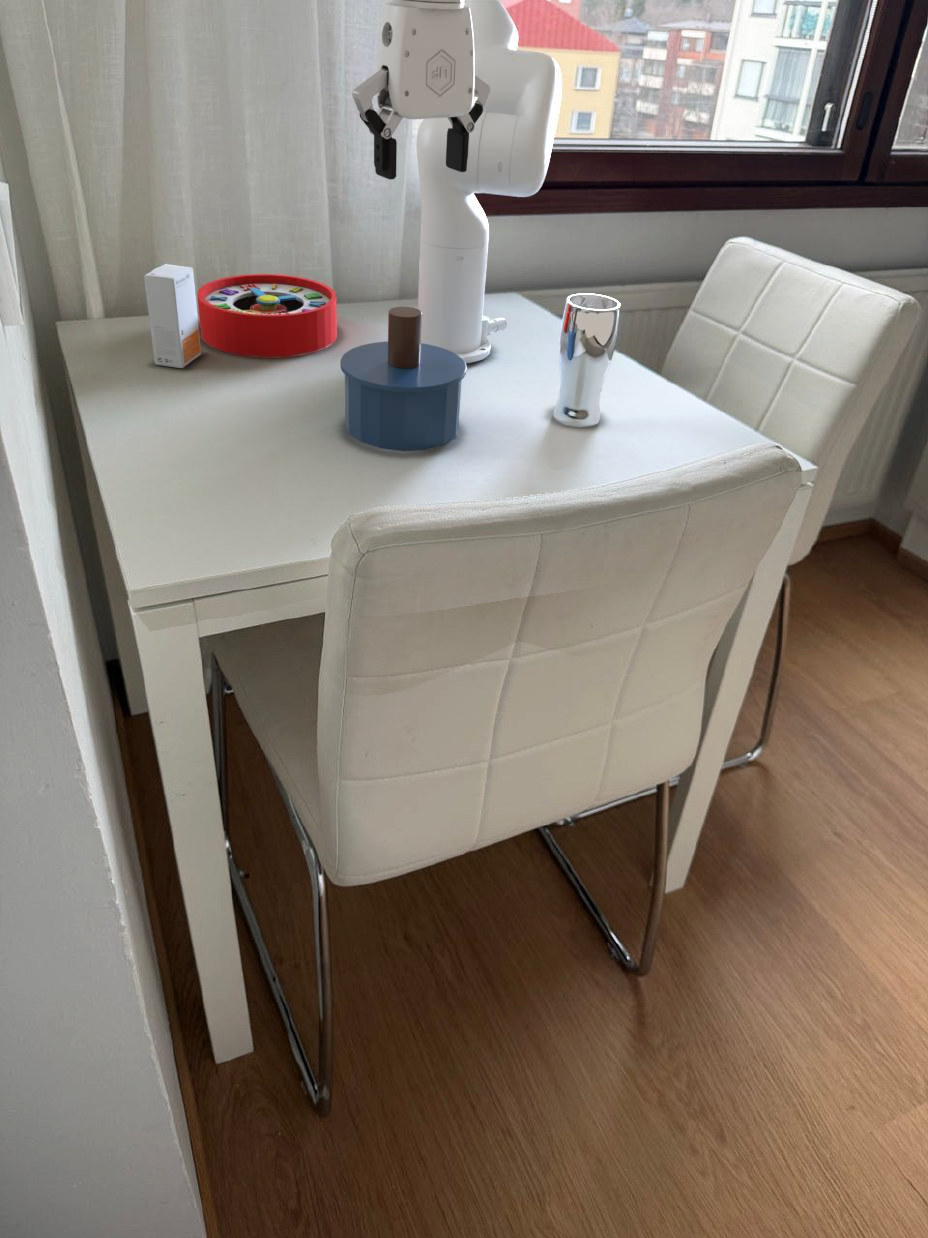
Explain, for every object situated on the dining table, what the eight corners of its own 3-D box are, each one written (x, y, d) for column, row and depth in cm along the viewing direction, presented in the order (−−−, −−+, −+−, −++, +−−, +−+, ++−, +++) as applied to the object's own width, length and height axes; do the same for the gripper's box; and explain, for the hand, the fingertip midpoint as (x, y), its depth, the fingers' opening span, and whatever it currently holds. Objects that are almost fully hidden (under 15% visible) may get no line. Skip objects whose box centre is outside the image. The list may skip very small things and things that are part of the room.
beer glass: (607, 413, 121) (627, 298, 112) (596, 433, 116) (615, 314, 107) (557, 403, 123) (572, 289, 114) (543, 422, 117) (558, 304, 109)
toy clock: (226, 323, 122) (177, 281, 136) (230, 365, 126) (182, 320, 139) (360, 306, 132) (302, 268, 145) (360, 346, 135) (303, 306, 148)
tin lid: (418, 343, 117) (420, 285, 112) (491, 382, 108) (496, 321, 103) (316, 363, 109) (315, 301, 105) (386, 407, 100) (387, 342, 96)
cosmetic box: (183, 369, 124) (173, 278, 117) (154, 365, 124) (141, 274, 117) (203, 354, 129) (193, 266, 122) (174, 350, 129) (163, 262, 122)
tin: (415, 400, 120) (417, 340, 116) (479, 439, 112) (484, 376, 107) (325, 421, 113) (324, 358, 109) (386, 464, 105) (387, 398, 100)
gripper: (375, -10, 86) (375, 187, 96) (516, -7, 95) (502, 173, 105) (333, -17, 90) (337, 172, 101) (471, -14, 99) (462, 160, 109)
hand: (421, 172), depth 103 cm, fingers open, 9 cm apart
